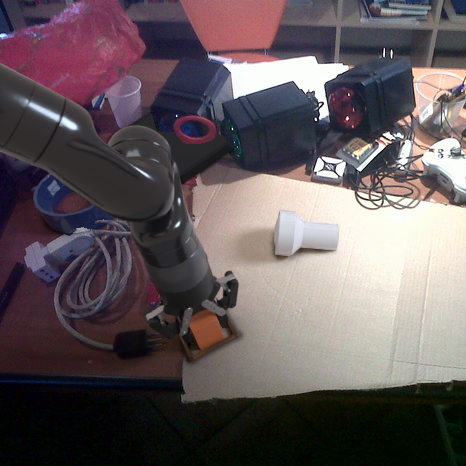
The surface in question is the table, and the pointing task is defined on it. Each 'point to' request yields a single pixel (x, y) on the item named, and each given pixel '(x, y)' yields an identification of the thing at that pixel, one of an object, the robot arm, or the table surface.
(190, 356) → the wooden frame tray
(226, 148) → the external hard drive
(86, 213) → the blue plastic ring
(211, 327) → the block
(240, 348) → the table surface
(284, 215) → the spotlight
